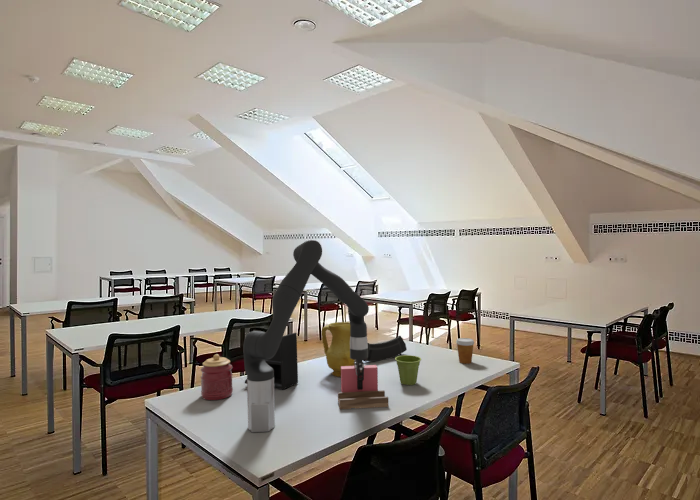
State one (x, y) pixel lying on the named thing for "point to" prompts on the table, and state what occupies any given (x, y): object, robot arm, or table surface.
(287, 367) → the bookend
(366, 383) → the book
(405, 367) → the plant pot
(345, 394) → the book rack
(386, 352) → the magazine
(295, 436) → the table surface
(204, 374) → the canister
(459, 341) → the disposable coffee cup
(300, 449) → the table surface
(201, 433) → the table surface
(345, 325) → the pitcher
